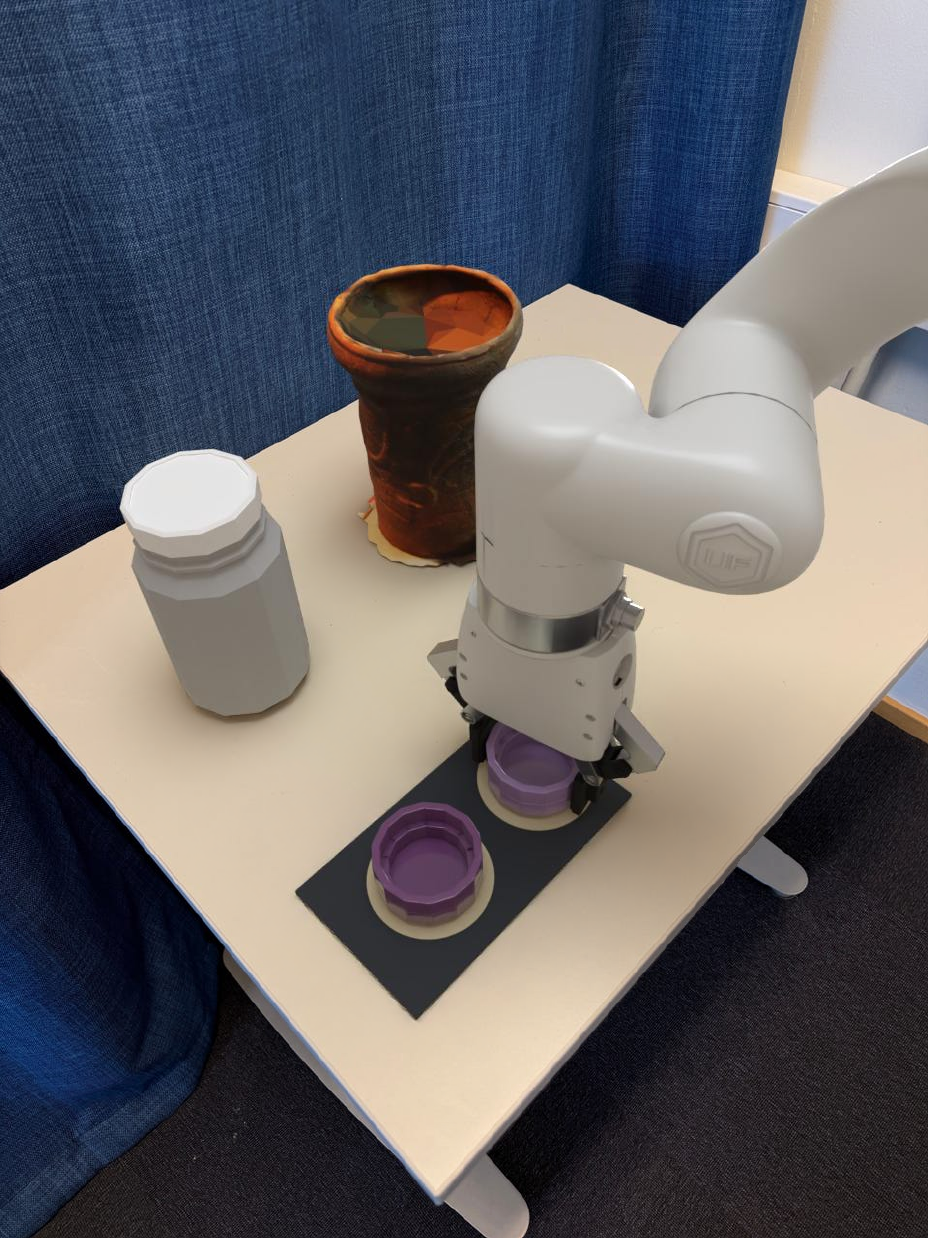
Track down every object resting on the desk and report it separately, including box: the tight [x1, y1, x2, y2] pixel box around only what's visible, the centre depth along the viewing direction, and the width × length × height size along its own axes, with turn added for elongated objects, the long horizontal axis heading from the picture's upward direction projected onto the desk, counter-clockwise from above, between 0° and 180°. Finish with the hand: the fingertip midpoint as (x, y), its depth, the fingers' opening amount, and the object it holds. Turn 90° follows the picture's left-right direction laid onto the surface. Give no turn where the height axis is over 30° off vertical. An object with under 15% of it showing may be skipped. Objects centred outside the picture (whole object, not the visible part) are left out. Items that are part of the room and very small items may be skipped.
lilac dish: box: [486, 722, 579, 816], centre depth 60 cm, size 7×7×3 cm
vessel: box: [326, 263, 524, 567], centre depth 73 cm, size 14×14×20 cm
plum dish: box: [372, 802, 483, 925], centre depth 55 cm, size 7×7×3 cm
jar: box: [119, 448, 310, 717], centre depth 62 cm, size 10×10×18 cm
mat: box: [294, 738, 633, 1021], centre depth 59 cm, size 20×11×1 cm, turn 136°
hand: (535, 770), depth 61 cm, fingers closed on lilac dish, 6 cm apart
